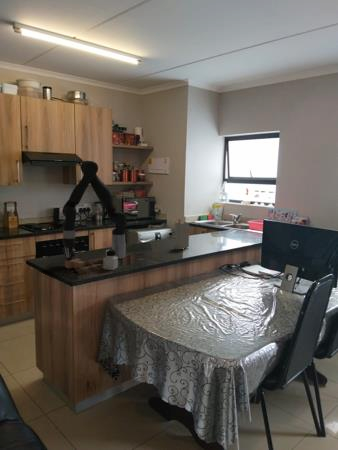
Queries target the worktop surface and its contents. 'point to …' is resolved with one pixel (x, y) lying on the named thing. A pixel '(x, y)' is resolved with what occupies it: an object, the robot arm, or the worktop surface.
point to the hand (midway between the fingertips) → (69, 262)
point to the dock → (88, 268)
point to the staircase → (181, 235)
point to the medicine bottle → (110, 260)
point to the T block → (74, 263)
